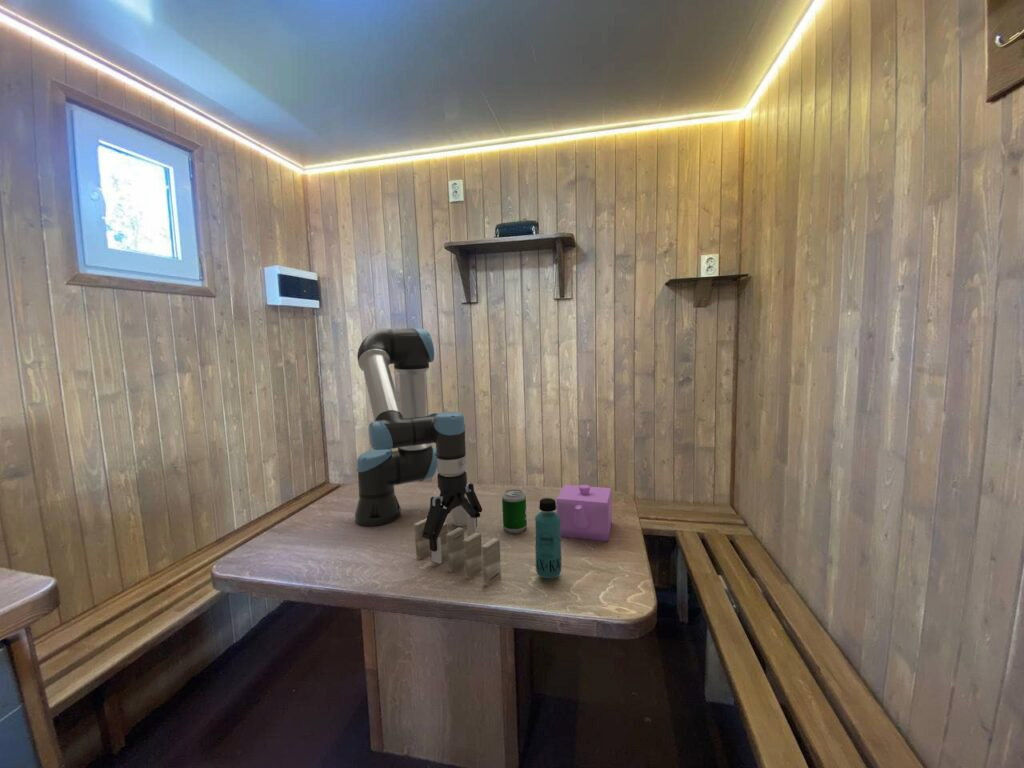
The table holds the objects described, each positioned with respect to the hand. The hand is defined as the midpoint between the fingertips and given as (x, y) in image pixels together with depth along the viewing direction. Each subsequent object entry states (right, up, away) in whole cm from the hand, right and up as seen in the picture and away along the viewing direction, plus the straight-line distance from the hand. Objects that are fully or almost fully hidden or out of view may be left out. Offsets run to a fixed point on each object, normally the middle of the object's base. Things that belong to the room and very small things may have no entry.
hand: (455, 550), depth 112 cm
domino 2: (-5, -5, +4) cm, 7 cm away
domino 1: (-9, -4, +7) cm, 13 cm away
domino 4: (+5, -5, -3) cm, 8 cm away
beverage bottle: (+24, -5, -6) cm, 25 cm away
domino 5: (+10, -5, -7) cm, 13 cm away
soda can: (+16, -2, +22) cm, 27 cm away
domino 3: (0, -5, 0) cm, 5 cm away
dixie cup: (-2, -2, +28) cm, 29 cm away
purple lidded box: (+37, -2, +19) cm, 42 cm away
